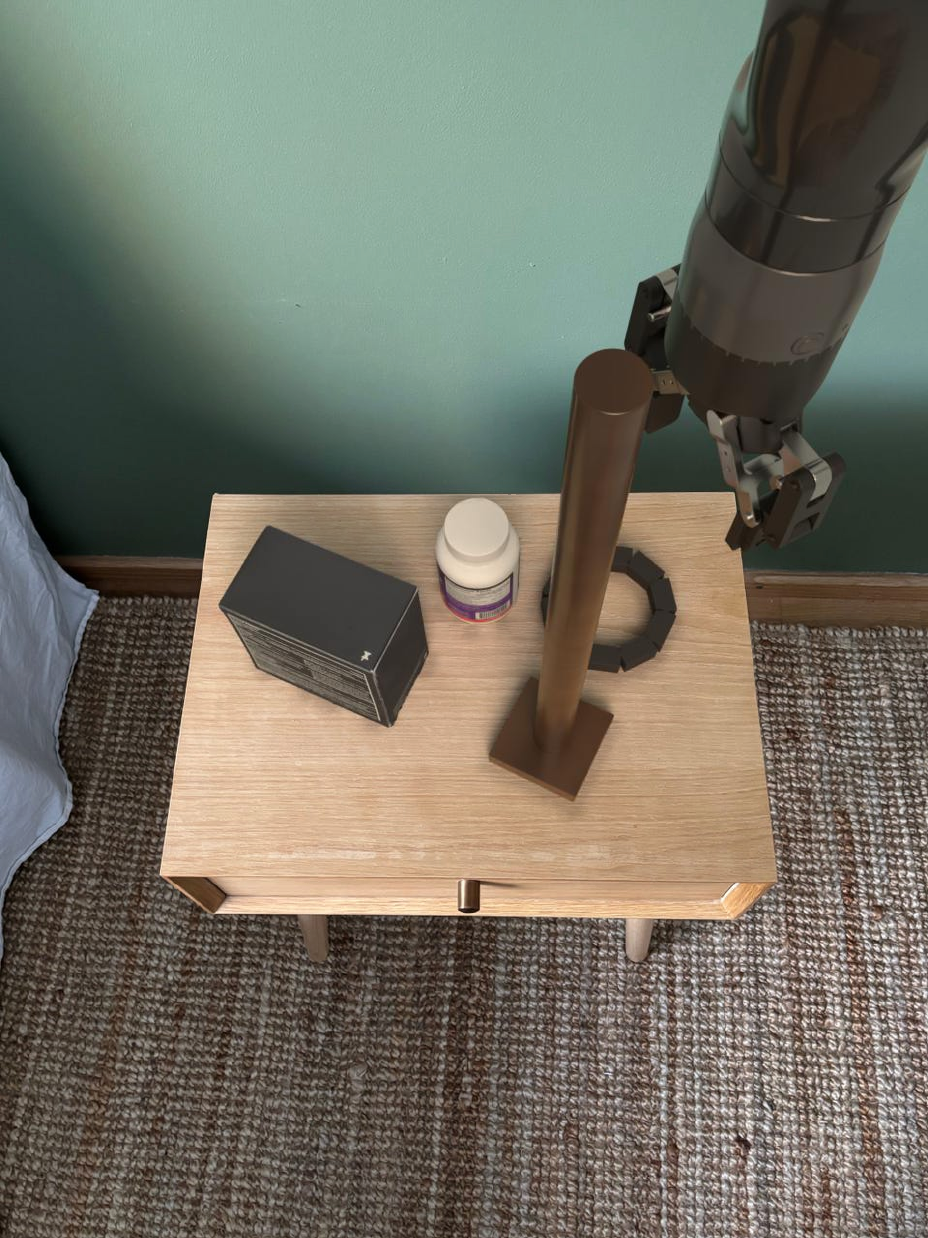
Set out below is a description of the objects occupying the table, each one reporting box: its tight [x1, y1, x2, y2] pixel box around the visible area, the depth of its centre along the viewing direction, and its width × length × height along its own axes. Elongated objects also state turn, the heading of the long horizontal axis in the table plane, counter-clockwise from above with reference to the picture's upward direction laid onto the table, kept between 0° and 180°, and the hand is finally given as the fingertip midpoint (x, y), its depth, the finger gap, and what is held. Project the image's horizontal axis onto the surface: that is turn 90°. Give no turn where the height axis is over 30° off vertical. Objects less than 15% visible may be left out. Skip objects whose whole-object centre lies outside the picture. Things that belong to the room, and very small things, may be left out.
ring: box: [540, 545, 678, 674], centre depth 70 cm, size 9×9×1 cm
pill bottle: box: [434, 497, 521, 626], centre depth 67 cm, size 5×5×10 cm
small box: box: [217, 524, 430, 729], centre depth 65 cm, size 11×6×10 cm, turn 65°
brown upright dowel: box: [489, 347, 654, 803], centre depth 49 cm, size 6×6×40 cm
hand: (699, 479), depth 58 cm, fingers open, 8 cm apart
